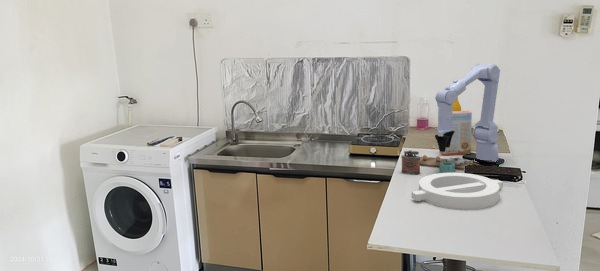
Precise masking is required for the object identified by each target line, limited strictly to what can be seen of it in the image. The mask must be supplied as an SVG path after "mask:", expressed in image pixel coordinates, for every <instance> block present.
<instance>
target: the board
mask: <svg viewBox="0 0 600 271" xmlns="http://www.w3.org/2000/svg"><path fill="white" fill-rule="evenodd" d="M441 162H452V163H455V171H456V170H458V171H465V170H464V169H465V166H467V165H470V166H471V164H472V161H471V160H466V159H465V158H460V157H449V158H443V157H442V158H441V157H440V156H436V157H429V156H427V155H426V154H424V155H423V156H420V167H429V168H437V169H438V168H439V169H440V163H441Z"/></svg>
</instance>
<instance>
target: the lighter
mask: <svg viewBox="0 0 600 271" xmlns="http://www.w3.org/2000/svg"><path fill="white" fill-rule="evenodd" d="M419 154H420V152H419V151H417V150H413V151H412V149H410V150H404V152H403V154H402V155H401V172H400V173H401V174H404V175H406V174H407V175H421V166H420V157H421V156H420V155H419Z"/></svg>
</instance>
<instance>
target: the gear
mask: <svg viewBox="0 0 600 271" xmlns="http://www.w3.org/2000/svg"><path fill="white" fill-rule="evenodd" d="M438 173H456V169H455V163H452V162H441V163H440V168H439V170H438Z"/></svg>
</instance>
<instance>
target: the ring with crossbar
mask: <svg viewBox="0 0 600 271" xmlns="http://www.w3.org/2000/svg"><path fill="white" fill-rule="evenodd" d="M418 181H419V182H418V190H415V191H411V199H412V200H414V201H416V202H417V201H419V202H420V201H424V202H425V203H427V204H431V205H433V206H437V207H440V208H446V209H452V210H453V209H454V210H479V209H484V208H490V207H492V206H494V205H496V204H497V203H498V202H500V190H502V189H503V188H504V182H503V181H501V180H499V179H492V178H488V177H486V176H484V175H478V174H473V173H464V172H455V173H439V172H438V173H432V174H429V175H426V176H424V177H421V179H419V180H418Z"/></svg>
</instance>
